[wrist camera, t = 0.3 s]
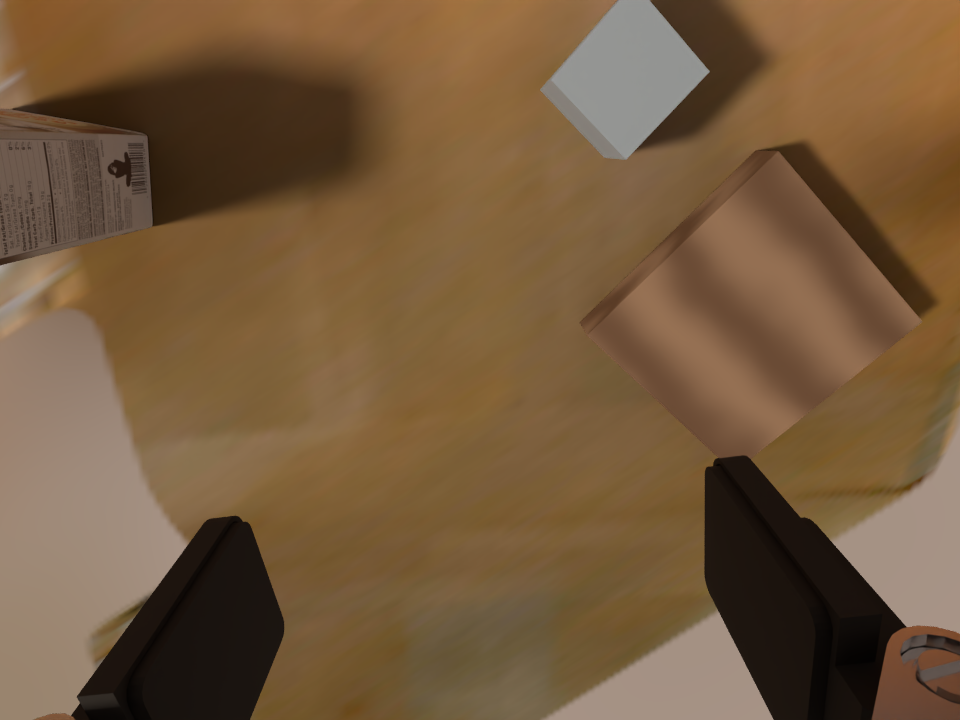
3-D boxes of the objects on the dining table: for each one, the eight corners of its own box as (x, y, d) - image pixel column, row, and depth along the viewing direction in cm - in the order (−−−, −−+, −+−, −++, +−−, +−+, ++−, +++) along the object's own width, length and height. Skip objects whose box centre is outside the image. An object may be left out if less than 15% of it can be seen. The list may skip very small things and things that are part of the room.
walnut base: (755, 150, 37) (778, 150, 34) (891, 309, 40) (922, 321, 38) (579, 322, 41) (586, 335, 38) (718, 451, 45) (734, 471, 42)
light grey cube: (609, 9, 34) (634, -18, 28) (673, 83, 35) (709, 71, 30) (539, 90, 35) (550, 79, 30) (604, 157, 37) (625, 159, 31)
